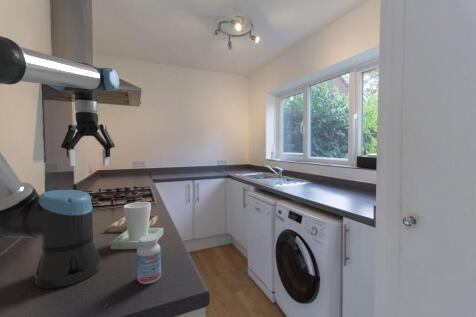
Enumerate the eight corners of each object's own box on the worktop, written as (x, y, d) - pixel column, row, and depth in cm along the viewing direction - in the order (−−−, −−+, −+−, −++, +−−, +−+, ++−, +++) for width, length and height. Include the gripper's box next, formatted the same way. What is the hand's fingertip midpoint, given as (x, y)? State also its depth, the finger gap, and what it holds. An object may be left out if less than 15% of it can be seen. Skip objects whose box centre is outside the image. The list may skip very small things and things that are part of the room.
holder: (144, 231, 96) (144, 226, 96) (108, 232, 96) (108, 226, 96) (158, 220, 112) (157, 215, 112) (126, 220, 112) (126, 215, 112)
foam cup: (119, 240, 85) (118, 206, 84) (140, 232, 93) (139, 200, 92) (136, 245, 81) (135, 209, 80) (156, 236, 89) (155, 203, 88)
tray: (150, 248, 80) (149, 241, 80) (110, 249, 80) (110, 242, 80) (163, 233, 94) (163, 227, 94) (129, 234, 94) (129, 228, 94)
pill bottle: (141, 288, 58) (139, 244, 57) (134, 277, 62) (133, 237, 62) (164, 279, 61) (163, 238, 61) (157, 269, 66) (155, 232, 66)
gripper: (122, 113, 94) (124, 164, 95) (63, 114, 94) (65, 165, 95) (112, 110, 87) (114, 165, 88) (48, 111, 87) (50, 166, 88)
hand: (89, 165), depth 92 cm, fingers open, 13 cm apart
